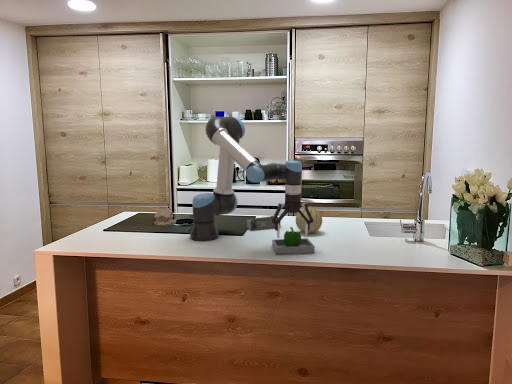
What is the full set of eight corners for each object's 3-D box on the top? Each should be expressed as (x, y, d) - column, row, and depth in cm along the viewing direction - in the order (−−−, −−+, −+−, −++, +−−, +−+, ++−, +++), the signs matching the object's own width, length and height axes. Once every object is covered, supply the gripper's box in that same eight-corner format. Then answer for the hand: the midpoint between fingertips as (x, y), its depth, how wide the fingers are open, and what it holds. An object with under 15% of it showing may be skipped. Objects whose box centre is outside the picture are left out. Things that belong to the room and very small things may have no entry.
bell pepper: (300, 251, 194) (300, 230, 192) (283, 250, 195) (283, 229, 193) (301, 245, 202) (301, 226, 200) (284, 245, 203) (285, 225, 202)
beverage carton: (246, 228, 242) (246, 217, 241) (275, 225, 249) (276, 214, 248) (250, 231, 235) (250, 220, 234) (281, 228, 242) (281, 217, 241)
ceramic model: (150, 225, 252) (149, 209, 250) (158, 221, 263) (157, 205, 261) (172, 226, 249) (171, 209, 248) (179, 222, 260) (178, 206, 258)
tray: (276, 254, 191) (276, 247, 190) (272, 246, 204) (272, 239, 204) (314, 253, 192) (314, 246, 192) (307, 245, 206) (307, 238, 206)
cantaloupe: (295, 236, 224) (295, 209, 221) (296, 229, 238) (296, 204, 236) (322, 236, 222) (322, 209, 219) (321, 230, 236) (322, 204, 234)
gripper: (267, 195, 189) (267, 239, 193) (320, 194, 192) (319, 238, 195) (265, 192, 196) (265, 235, 200) (316, 191, 199) (315, 234, 202)
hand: (292, 236), depth 198 cm, fingers open, 13 cm apart
